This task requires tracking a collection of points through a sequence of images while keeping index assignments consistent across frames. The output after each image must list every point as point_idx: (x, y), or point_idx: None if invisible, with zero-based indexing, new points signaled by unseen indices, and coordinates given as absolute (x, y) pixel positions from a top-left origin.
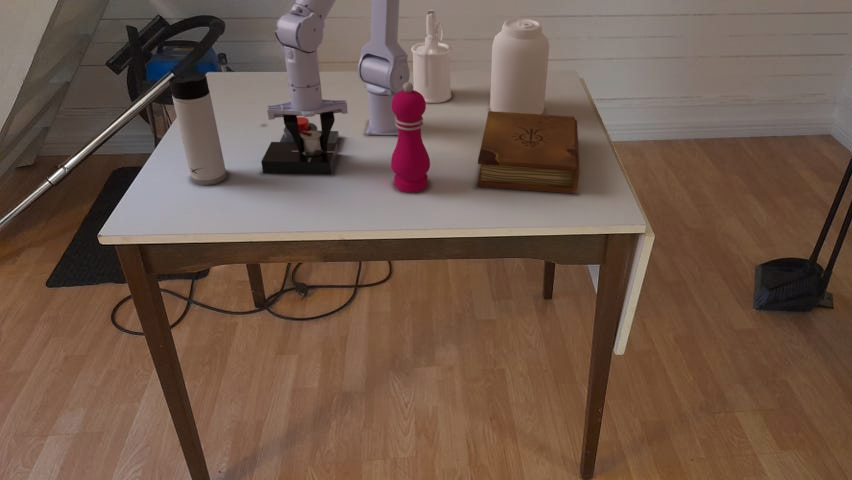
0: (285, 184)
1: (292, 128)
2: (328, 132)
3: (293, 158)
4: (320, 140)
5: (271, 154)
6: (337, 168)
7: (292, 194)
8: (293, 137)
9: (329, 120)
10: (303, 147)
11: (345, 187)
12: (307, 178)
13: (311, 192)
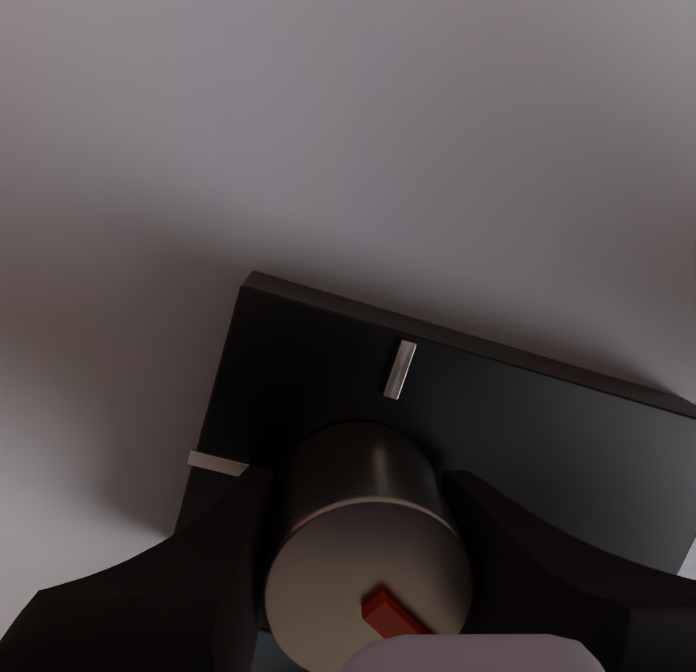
0: (578, 213)
1: (644, 580)
2: (174, 541)
3: (516, 425)
4: (284, 517)
5: (655, 521)
6: (200, 358)
7: (560, 45)
8: (568, 535)
9: (72, 621)
10: (441, 492)
11: (168, 44)
12: (422, 262)
13: (426, 37)
